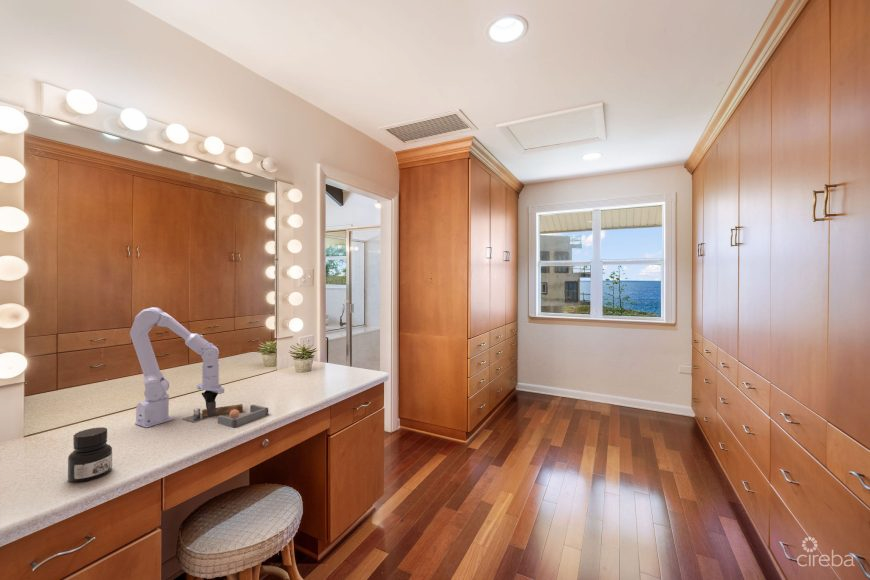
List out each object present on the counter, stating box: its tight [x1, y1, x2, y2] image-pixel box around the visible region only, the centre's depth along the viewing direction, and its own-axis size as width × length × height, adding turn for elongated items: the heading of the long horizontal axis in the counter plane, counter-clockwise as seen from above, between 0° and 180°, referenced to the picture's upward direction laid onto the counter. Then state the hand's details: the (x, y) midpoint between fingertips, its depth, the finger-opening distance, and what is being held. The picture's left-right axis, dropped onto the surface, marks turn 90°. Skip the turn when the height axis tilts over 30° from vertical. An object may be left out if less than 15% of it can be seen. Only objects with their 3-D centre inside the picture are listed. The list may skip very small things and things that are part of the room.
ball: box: [228, 409, 240, 419], centre depth 143 cm, size 4×4×4 cm
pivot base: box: [181, 407, 212, 423], centre depth 142 cm, size 7×7×4 cm
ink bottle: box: [67, 426, 113, 483], centre depth 100 cm, size 10×9×12 cm
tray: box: [217, 404, 269, 429], centre depth 142 cm, size 15×9×3 cm, turn 155°
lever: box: [201, 400, 244, 417], centre depth 146 cm, size 14×4×5 cm, turn 122°
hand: (210, 408), depth 147 cm, fingers closed, pressing on lever
